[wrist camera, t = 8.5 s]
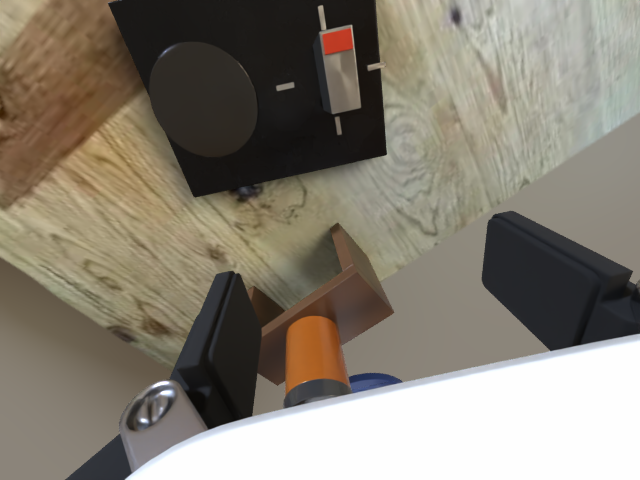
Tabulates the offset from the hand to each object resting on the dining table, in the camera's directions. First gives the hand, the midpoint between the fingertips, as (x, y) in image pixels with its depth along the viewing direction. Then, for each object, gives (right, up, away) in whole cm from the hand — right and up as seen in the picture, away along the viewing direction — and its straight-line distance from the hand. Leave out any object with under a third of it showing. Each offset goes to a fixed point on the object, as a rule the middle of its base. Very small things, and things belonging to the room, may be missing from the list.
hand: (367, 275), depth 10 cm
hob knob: (-1, +14, +11) cm, 18 cm away
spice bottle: (-2, -7, +14) cm, 16 cm away
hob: (-6, +14, +13) cm, 20 cm away
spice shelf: (-3, -3, +23) cm, 23 cm away
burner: (-11, +12, +11) cm, 20 cm away
